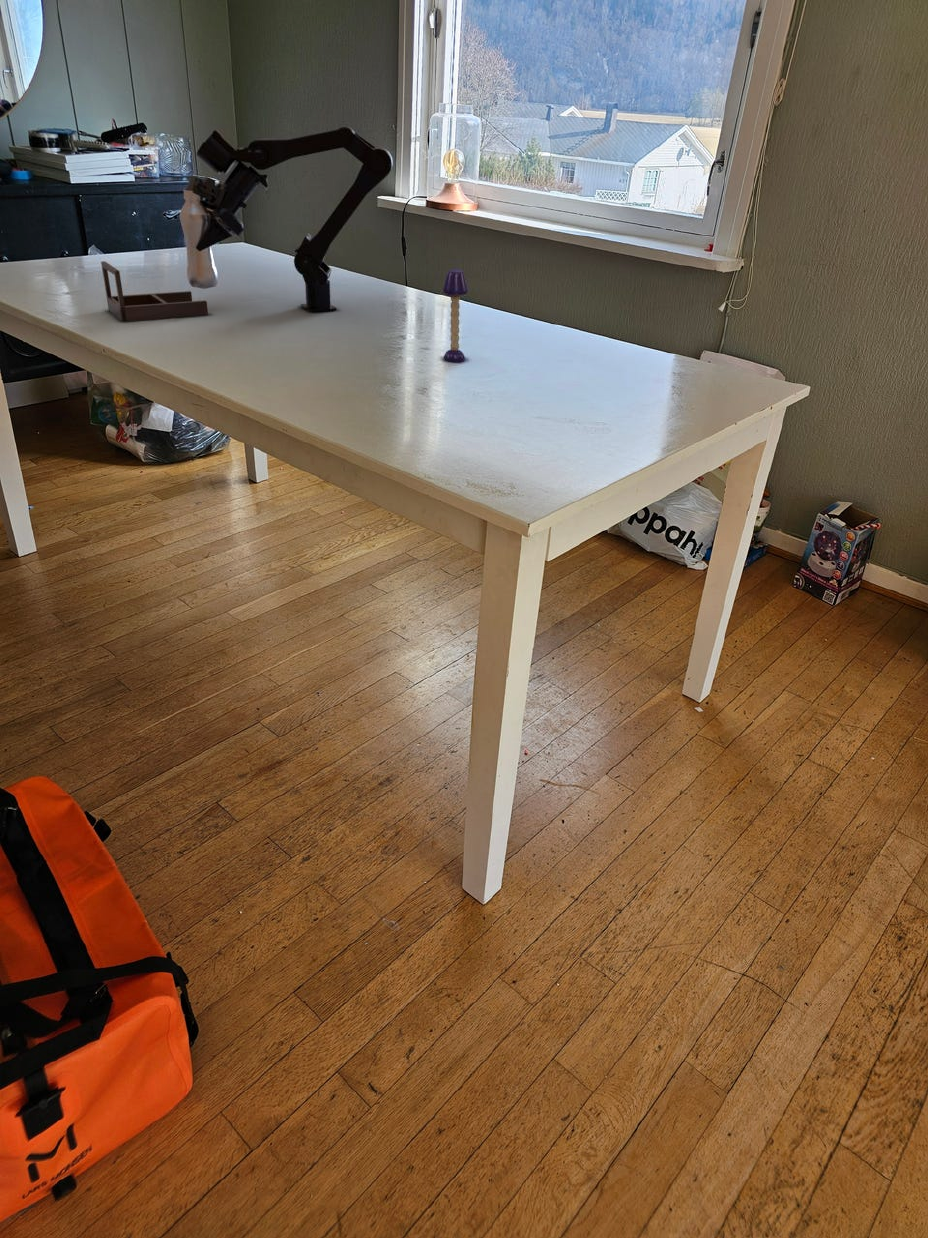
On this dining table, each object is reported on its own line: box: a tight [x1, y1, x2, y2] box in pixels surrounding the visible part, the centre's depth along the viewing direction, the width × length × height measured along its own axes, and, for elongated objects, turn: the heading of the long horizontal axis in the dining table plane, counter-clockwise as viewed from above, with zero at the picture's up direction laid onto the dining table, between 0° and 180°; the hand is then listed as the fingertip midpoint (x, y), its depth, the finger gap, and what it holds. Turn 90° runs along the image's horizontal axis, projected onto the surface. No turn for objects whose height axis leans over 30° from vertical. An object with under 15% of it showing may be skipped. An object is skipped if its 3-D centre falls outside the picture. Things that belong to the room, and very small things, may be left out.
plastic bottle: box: [179, 188, 219, 290], centre depth 187 cm, size 6×7×20 cm
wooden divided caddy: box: [100, 260, 209, 323], centre depth 187 cm, size 11×19×10 cm, turn 124°
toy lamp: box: [442, 269, 468, 363], centre depth 166 cm, size 5×5×17 cm
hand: (192, 247), depth 187 cm, fingers closed on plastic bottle, 6 cm apart
